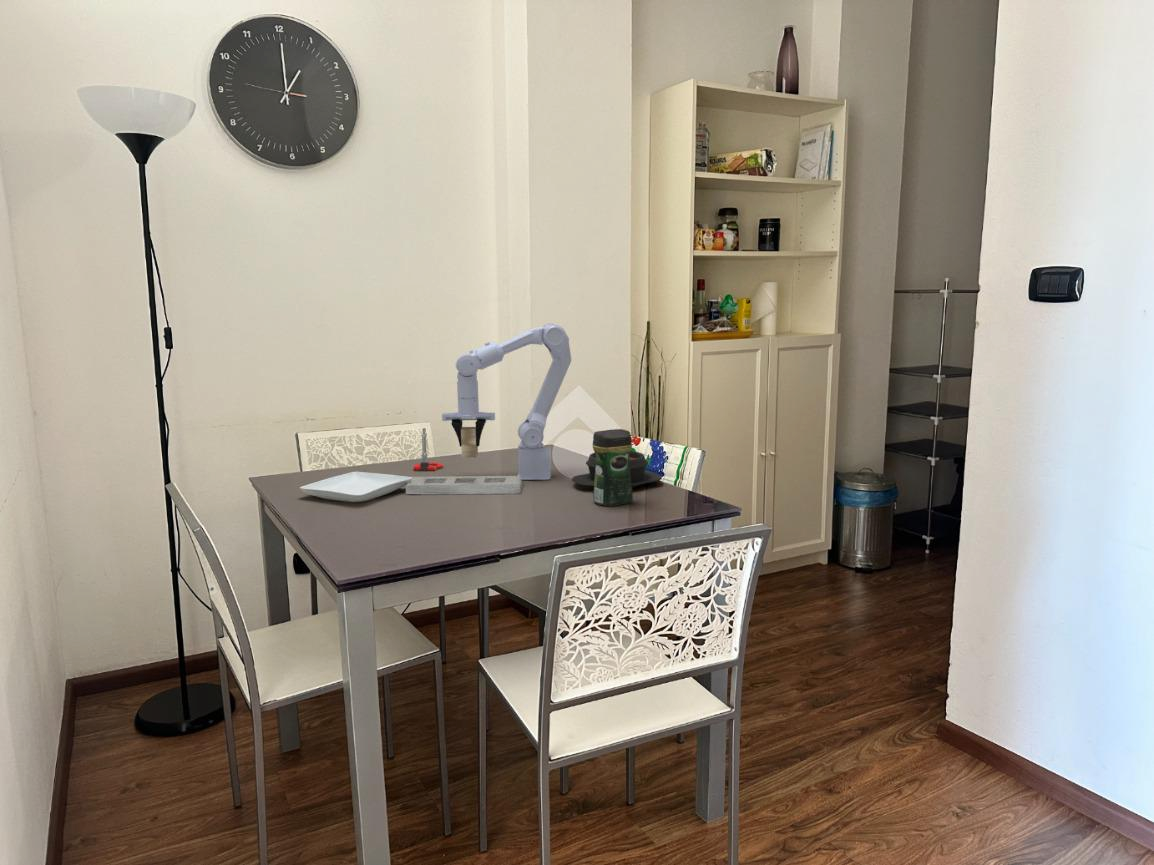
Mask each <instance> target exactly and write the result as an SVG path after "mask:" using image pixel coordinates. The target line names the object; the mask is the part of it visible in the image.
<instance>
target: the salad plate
mask: <svg viewBox="0 0 1154 865" xmlns="http://www.w3.org/2000/svg"><path fill="white" fill-rule="evenodd" d="M412 478H413V476H403V475H396V474H387V473H377V472H364V471H351V472H347V473H344V474H339V475H335V476H332V477H327V478H325V479H322V480H321V479H320V480H318V481H315V482H312V483H308V484H306V485H303V486H300V487H299V489H300V490H301V491H302V492H303V493H305V494H308V495H310V496H314V497H317V498H321V499H323V500H324V499H325V500H331V501H340V502H346V501H347V502H348V503H361V502H363V503H364V502H366V501H370V500H373V499H376V498H379V497H382V496H384V495H388V494H390V493H393V492H395V491H396V490H398V489H400V488H403V487H404V486H405V487H406V484H407V483H408V482H410V481H411V480H412ZM347 502H346V503H347Z"/></svg>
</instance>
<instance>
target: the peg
mask: <svg viewBox="0 0 1154 865" xmlns="http://www.w3.org/2000/svg"><path fill="white" fill-rule="evenodd" d="M461 446H462V447H461V458H462V459H463V458H465V459H466V458H467V459H469V458H473V459H474V458H477V457H478V456H479V454H478V453H479V449H478V448H479V446H476V426H462V429H461Z"/></svg>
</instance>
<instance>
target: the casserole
mask: <svg viewBox="0 0 1154 865" xmlns="http://www.w3.org/2000/svg"><path fill="white" fill-rule="evenodd" d="M587 459H588V460H587V461H585V464H586V466H588V467H587V468H588V472H589V473H583V474H578V475H574V476H572V478H571V481H572V482H573V483H575V484H577V485H580V486H584V487H594V480H595V466H596V458H595V452H592V453H591V454H590V455H589V457H588V458H587ZM648 465H649V462H648V461H647V460H646V457H645V454H643V453H641V452H638V451H635V450H634V451H633V450H631V451H630V475H631V484H632V487H633V488H636V487H638V486H640V485H644V484H648V483H655V482H658V481H659V482H660V481H661V480H662V478H663V477H662V475H661V474H659V473H657V472H654V471H649V470H646V467H647V466H648Z"/></svg>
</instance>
